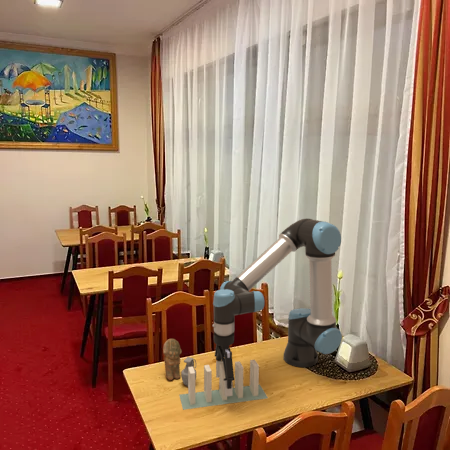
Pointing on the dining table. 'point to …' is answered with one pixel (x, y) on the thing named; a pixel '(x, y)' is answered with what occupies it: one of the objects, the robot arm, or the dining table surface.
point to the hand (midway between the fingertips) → (223, 385)
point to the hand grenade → (184, 372)
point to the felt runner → (217, 399)
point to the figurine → (172, 358)
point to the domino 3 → (222, 382)
